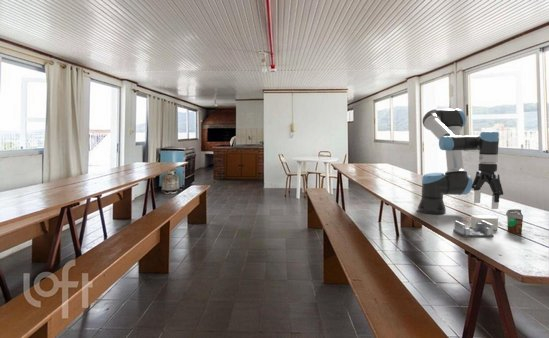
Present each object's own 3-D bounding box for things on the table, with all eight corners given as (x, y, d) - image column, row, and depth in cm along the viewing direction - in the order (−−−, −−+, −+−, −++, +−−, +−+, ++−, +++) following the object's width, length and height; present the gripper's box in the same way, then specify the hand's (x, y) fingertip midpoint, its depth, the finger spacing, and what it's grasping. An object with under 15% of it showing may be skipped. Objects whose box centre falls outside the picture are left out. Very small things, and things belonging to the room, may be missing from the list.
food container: (504, 227, 158) (505, 207, 157) (519, 229, 154) (521, 209, 153) (505, 233, 148) (506, 213, 146) (521, 236, 144) (523, 215, 143)
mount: (463, 237, 144) (464, 225, 143) (453, 230, 153) (453, 220, 152) (493, 236, 144) (494, 225, 143) (481, 230, 153) (482, 219, 152)
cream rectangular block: (475, 229, 155) (476, 218, 154) (470, 226, 160) (471, 215, 159) (497, 230, 154) (498, 218, 153) (491, 227, 158) (492, 215, 158)
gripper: (465, 161, 165) (463, 200, 167) (497, 165, 140) (494, 211, 143) (479, 161, 165) (477, 200, 167) (514, 165, 140) (511, 211, 142)
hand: (485, 205), depth 155 cm, fingers open, 13 cm apart
